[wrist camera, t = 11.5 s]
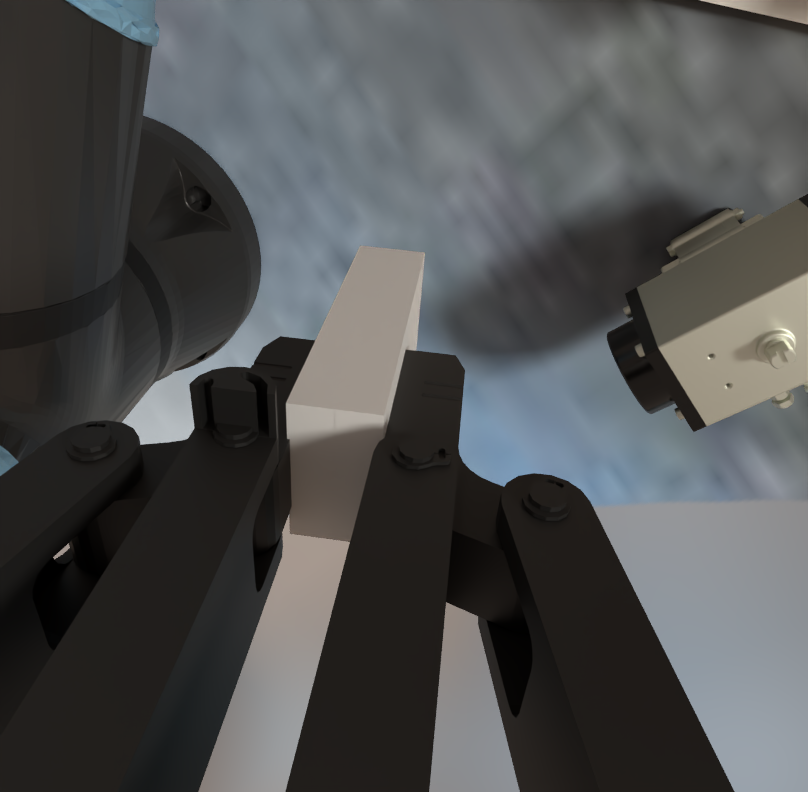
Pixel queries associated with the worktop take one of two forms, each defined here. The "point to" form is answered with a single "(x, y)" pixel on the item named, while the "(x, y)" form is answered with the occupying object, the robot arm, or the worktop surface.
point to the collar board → (771, 8)
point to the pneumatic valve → (721, 319)
